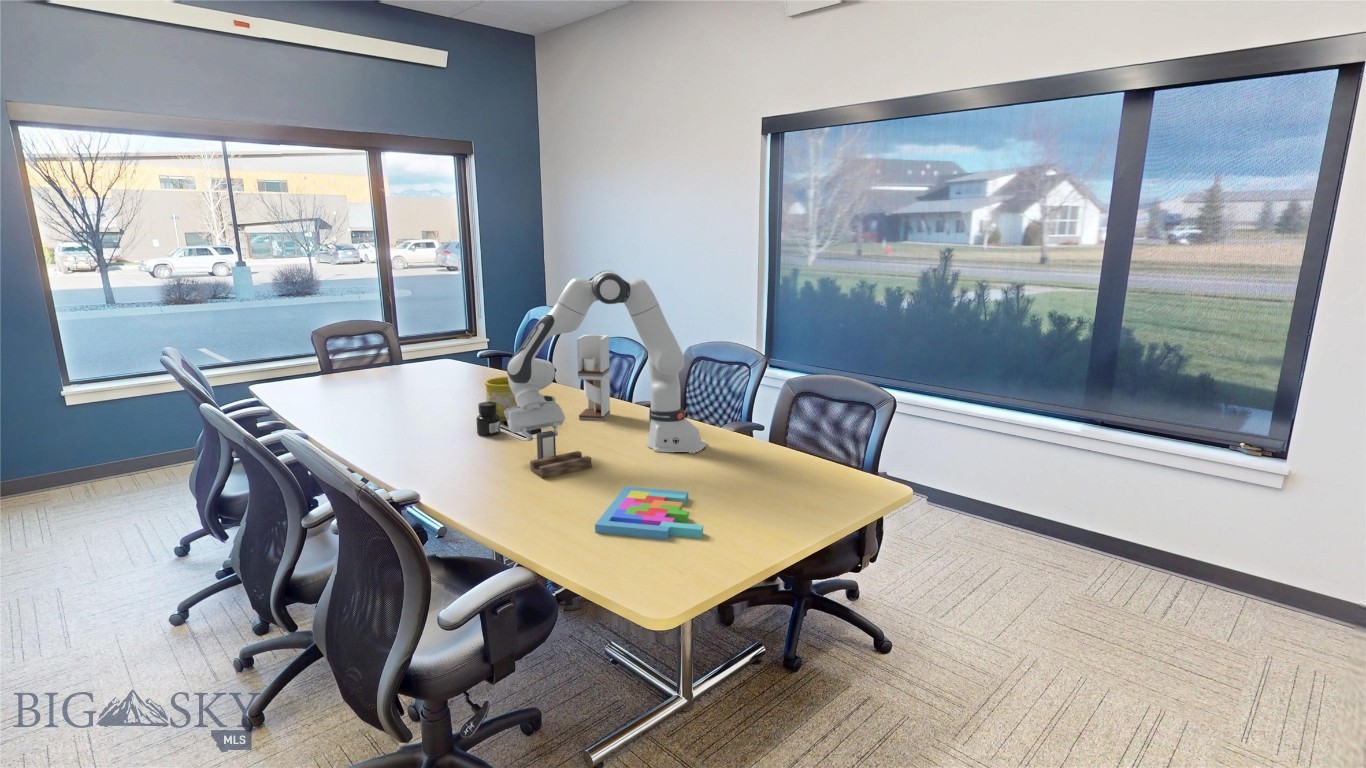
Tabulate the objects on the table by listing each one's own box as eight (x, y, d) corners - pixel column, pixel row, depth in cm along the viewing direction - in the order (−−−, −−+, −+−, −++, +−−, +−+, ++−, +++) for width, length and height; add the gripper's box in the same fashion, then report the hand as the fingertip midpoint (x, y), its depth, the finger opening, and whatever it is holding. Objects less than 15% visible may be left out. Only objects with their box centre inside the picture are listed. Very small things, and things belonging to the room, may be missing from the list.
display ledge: (578, 460, 230) (578, 450, 229) (591, 467, 223) (591, 457, 222) (530, 470, 220) (530, 460, 219) (542, 478, 213) (542, 468, 212)
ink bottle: (496, 436, 257) (494, 406, 254) (473, 436, 257) (471, 406, 254) (503, 429, 266) (502, 400, 264) (481, 429, 266) (480, 400, 264)
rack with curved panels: (586, 413, 292) (584, 334, 285) (610, 414, 291) (608, 335, 284) (579, 419, 281) (577, 338, 274) (603, 421, 280) (601, 339, 272)
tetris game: (595, 534, 174) (699, 544, 169) (594, 524, 174) (699, 534, 168) (625, 495, 201) (716, 502, 196) (625, 486, 201) (716, 493, 195)
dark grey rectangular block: (537, 460, 229) (536, 433, 227) (552, 457, 233) (551, 430, 231) (541, 463, 227) (540, 435, 225) (556, 460, 230) (555, 432, 228)
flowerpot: (524, 424, 274) (522, 385, 271) (481, 423, 275) (478, 385, 271) (534, 412, 292) (532, 376, 289) (493, 412, 292) (491, 376, 289)
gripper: (504, 404, 227) (517, 438, 222) (558, 396, 239) (572, 428, 234) (500, 413, 232) (512, 447, 226) (553, 405, 244) (566, 437, 238)
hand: (543, 437), depth 230 cm, fingers open, 8 cm apart
